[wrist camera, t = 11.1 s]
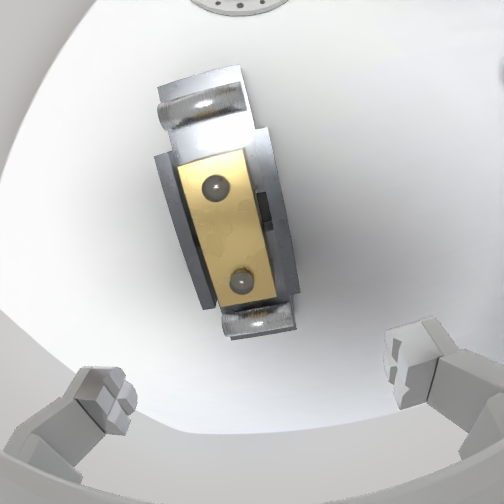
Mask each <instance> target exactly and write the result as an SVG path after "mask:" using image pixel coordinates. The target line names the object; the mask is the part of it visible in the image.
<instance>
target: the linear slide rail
mask: <svg viewBox="0 0 504 504" xmlns="http://www.w3.org/2000/svg"><path fill="white" fill-rule="evenodd" d="M157 88H158V92H159V97H160V101H161V104H159V105H158V108H157V111H158V117H159V120H160V123H161V125H162V127H163V128H164V130H166V131H167V130H168V133H169V137H170V141H171V145H172V149H173V151H170V152H167V153H164V154H161V155H157V156H154V159H155V162H156V166H157V170H158V173H159V177H160V180H161V184H162V187H163V191H164V194H165V197H166V201H167V204H168V207H169V211H170V214H171V217H172V220H173V224H174V227H175V230H176V233H177V236H178V239H179V242H180V245H181V248H182V252H183V255H184V258H185V260H186V263H187V266H188V269H189V272H190V275H191V278H192V281H193V284H194V287H195V289H196V292H197V295H198V298H199V300H200V303H201V306H202V309H203V310H206V309H212V308H215V306H216V302H217V300H218V297H217V294H216V291H215V288H214V285H213V282H212V279H211V276H210V273H209V270H208V267H207V264H206V261H205V258H204V254H203V251H202V248H201V245H200V242H199V239H198V235H197V232H196V229H195V226H194V222H193V219H192V216H191V212H190V209H189V206H188V202H187V199H186V195H185V192H184V188H183V185H182V182H181V178H180V174H179V171H178V167H179V166H181V165H183V164H185V163H187V162H189V161H191V160H195V159H199V158H202V157H206V156H210V155H214V154H217V153H221V152H225V151H229V150H233V149H238V148H242V147H245V150H246V154H247V158H248V162H249V166H250V170H251V174H252V179H253V183H254V187H255V191H256V194H257V193H261V192H266V195H267V200H268V204H269V209H270V214H271V218H272V221H267V222H263V225H264V230H265V234H266V238H267V243H268V247H269V251H270V256H271V260H272V265H273V269H274V274H275V284H276V294H277V297H273V298H268V299H263V300H258V301H252V302H247V303H241V304H235V305H230V306H224V307H221V306H220V303H219V300H218V303H219V306H220V309H221V312H222V328H223V332H224V334H225V336H226V337H230V338H231V340H237V339H244V338H250V337H257V336H263V335H269V334H275V333H280V332H286V331H291V330H297V328H296V322H295V316H294V310H293V305H292V300H291V294H296V293H300V287H299V281H298V275H297V270H296V264H295V259H294V253H293V248H292V242H291V237H290V232H289V227H288V221H287V216H286V211H285V206H284V201H283V196H282V191H281V187H280V182H279V177H278V172H277V168H276V163H275V158H274V154H273V149H272V145H271V140H270V136H269V132H268V127H265V128H260V129H255V125H254V121H253V117H252V112H251V108H250V104H249V100H248V96H247V92H246V88H245V84H244V80H243V76H242V72H241V68H240V65H239V64H236V65H232V66H228V67H224V68H220V69H216V70H212V71H208V72H204V73H201V74H197V75H194V76H191V77H187V78H184V79H181V80H178V81H175V82H172V83H169V84H166V85H163V86H160V87H157Z"/></svg>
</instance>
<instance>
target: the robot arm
mask: <svg viewBox="0 0 504 504" xmlns="http://www.w3.org/2000/svg"><path fill="white" fill-rule="evenodd" d="M385 343H386V345H387V349H386V350H385V351H384V368H385V372H386V376H387V378H388V381H389V382H390V383H392V384H393V385H394V391H393V394H394V396H395V399H396V402H397V404H398V407H399V409H400V410H402V409H405V408H408V407H412V406H415V405H418V404H422V403H425V402H427V404H429V405H430V406H431V407H433V408H434V409H435V410H437V411H438V412H440V413H441V414H442V415H444V416H445V417H446V418H448V419H449V420H451V421H452V422H453V423H455V424H456V425H458V426H459V427H460V428H462V429H463V430H465V431H466V432H468V433H469V434H468V436H467V438H466V439H465V441H464V443H463V444H462V446H461V447H460V449H459V451H458V452H459V454H460V457H461V459H462V460H461V461H460V462H457V463H455V464H453V465H450V466H448V467H446V468H444V469H441V470H439V471H436V472H434V473H431V474H429V475H426V476H423V477H421V478H418V479H415V480H412V481H409V482H406V483H403V484H400V485H397V486H394V487H391V488H387V489H384V490H380V491H377V492H372V493H368V494H364V495H360V496H356V497H351V498H346V499H342V500H336V501H330V502H324V503H318V504H504V365H501V364H499V363H497V362H494V361H492V360H490V359H487V358H485V357H483V356H480V355H478V354H475V353H473V352H471V351H468V350H466V349H462V350H459V348H458V347H457V345H456V344H455V343H454V341H453V340H452V338H451V337H450V336H449V334H448V333H447V331H446V330H445V329H444V327H443V326H442V325H441V323H440V322H439V321H438V319H437V318H436V317H434V316H431V317H428V318H424V319H421V320H418V321H416V322H412V323H409V324H405V325H402V326H398V327H395V328H391V329H387V330H386V332H385ZM125 377H126V375H125V373H124V372H123V371H122V369H121V368H118V367H99V366H94V367H90V366H84V367H82V368H80V370H79V371H78V373H77V374H76V376H75V377H74V379H73V381H72V382H71V384H70V386H69V387H68V389H67V391H66V392H65V394H64V395H63V397H62V398H60V397H59V398H58V399H56V400H55V401H53V402H52V403H50V404H49V405H48V406H46V407H45V408H43V409H42V410H40V411H39V412H38V413H36V414H35V415H33V416H32V417H30V418H29V419H27V420H26V421H25V422H23V423H22V424H20V425H19V426H17V427H16V429H15V431H14V432H13V434H12V436H11V437H10V439H9V441H8V443H7V445H6V446H5V448H4V450H3V452H2V451H0V504H163V503H155V502H149V501H144V500H139V499H134V498H129V497H124V496H120V495H116V494H112V493H108V492H104V491H101V490H97V489H93V488H90V487H87V486H84V485H81V481H82V479H83V476H82V474H81V473H80V472H79V471H77V470H76V469H75V468H74V467H75V466H76V465H77V464H78V463H79V462H80V461H81V460H82V459H83V458H84V456H86V454H88V453H89V452H90V451H91V450H92V449H93V447H95V445H96V444H97V443H98V442H99V441H100V440H101V439H102V438H103V437H104V436H105V435H106V434H112V435H123V436H125V435H126V432H127V430H128V427H129V424H130V422H131V419H130V416H129V415H130V414H131V413H133V412H134V411H135V409H136V406H137V393H136V390H135V389H134V387H133V385H132V384H130V383H129V382H127V381H126V380H125Z"/></svg>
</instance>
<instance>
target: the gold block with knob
mask: <svg viewBox="0 0 504 504" xmlns="http://www.w3.org/2000/svg"><path fill="white" fill-rule="evenodd" d="M178 171H179V174H180V178H181V182H182V185H183V188H184V192H185V195H186V199H187V202H188V206H189V209H190V212H191V216H192V219H193V222H194V226H195V229H196V232H197V235H198V239H199V242H200V245H201V248H202V251H203V254H204V258H205V261H206V264H207V267H208V270H209V273H210V276H211V279H212V282H213V285H214V288H215V291H216V294H217V297H218V300H219V303H220V306H221V307H224V306H230V305H235V304H241V303H247V302H252V301H258V300H263V299H268V298H273V297H277V294H276V284H275V274H274V269H273V265H272V260H271V256H270V251H269V247H268V243H267V238H266V234H265V230H264V225H263V221H262V217H261V212H260V208H259V204H258V200H257V195H256V191H255V187H254V183H253V179H252V174H251V170H250V166H249V162H248V158H247V154H246V150H245V147H242V148H238V149H233V150H229V151H225V152H221V153H217V154H214V155H210V156H206V157H202V158H199V159H195V160H191V161H189V162H187V163H185V164H183V165H181V166H179V167H178Z"/></svg>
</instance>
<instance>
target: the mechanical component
mask: <svg viewBox="0 0 504 504" xmlns="http://www.w3.org/2000/svg"><path fill="white" fill-rule="evenodd" d="M191 1H193V2H194V3H196V4H197V5H199V6H201V7H202V8H204V9H205V10H208V11H211V12H214V13H217V14H223V15H229V16H244V15H254V14H258V13H263V12H268V11H270V10H272V9H274V8H276V7H278V6H280V5H282V4H284V3H285V2H286V1H287V0H191ZM239 8H240V9H239Z"/></svg>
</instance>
